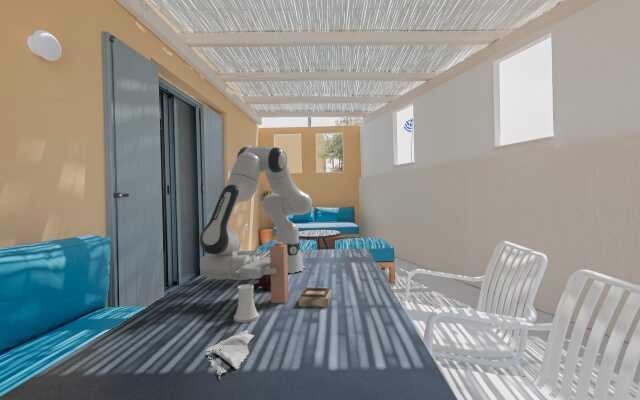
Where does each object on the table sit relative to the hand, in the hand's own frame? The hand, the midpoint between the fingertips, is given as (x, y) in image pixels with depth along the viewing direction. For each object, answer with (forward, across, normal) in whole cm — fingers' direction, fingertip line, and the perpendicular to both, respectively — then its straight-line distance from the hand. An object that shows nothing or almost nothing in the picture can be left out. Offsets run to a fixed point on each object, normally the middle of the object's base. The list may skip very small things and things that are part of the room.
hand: (280, 267), depth 123 cm
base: (+13, 0, +12) cm, 17 cm away
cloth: (-2, -40, +13) cm, 42 cm away
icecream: (-9, +15, +12) cm, 22 cm away
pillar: (0, 0, +12) cm, 12 cm away
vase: (-6, -18, +12) cm, 23 cm away
